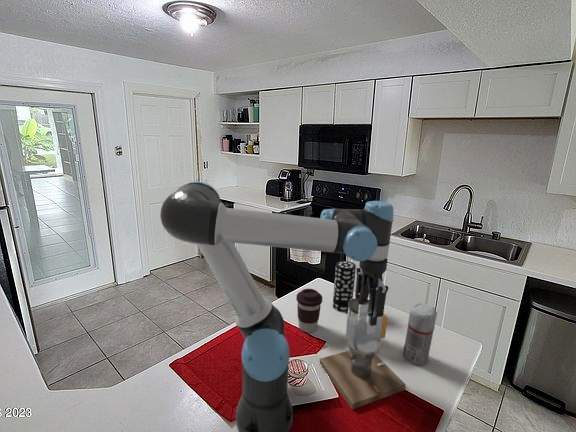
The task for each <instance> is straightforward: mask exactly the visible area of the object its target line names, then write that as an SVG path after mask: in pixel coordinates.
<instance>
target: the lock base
mask: <svg viewBox="0 0 576 432" xmlns="http://www.w3.org/2000/svg"><path fill="white" fill-rule="evenodd" d="M318 362H320V364H321V365H322V367H323V368H324V370H325V371H326V373H327V374H328V375H327V374H326V373H325V374H326V375H327V377H328V376H329V377H328V378H329V380H330V381H331V382H332V384H333V385H334V387H335V388H336V389H337V391H338V392H339V394H340V395H341V396H342V398H343V399H344V400H345V402H346V404H348V406H349V408H350V409H351V410H355V409H357V407H358V408H360V407H362V406H365V404H366V405H368V403H369V404H371V403H374V402H377V401H379V400H382V399H384V398H387V397H390V396H392V395H394V394H398V393H401V392H403V391H406V386H407V384H406V383H405V382H404V381H403V380H402V379H401V378H400V377H399V376H398V375H397V374H396V373H395V372H394V371H393V370H392V369H391V368H390V367H389V366H388V365H387V364H386V363H385V362H384V361H383V359H381V358H380V357H379V355H377V356H376V357H374V358H371V359H364V358H360V357H357V356H355V355H354V354H352V353H351V351H350V350H349V349H348V350H345V351H342V352H338V353H334V354H331V355H329V356H324V357H321V358H319V361H318ZM320 364H319V365H320ZM322 367H321V368H322ZM323 368H322V369H323ZM324 370H323V371H324ZM325 371H324V372H325Z"/></svg>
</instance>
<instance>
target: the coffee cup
mask: <svg viewBox="0 0 576 432" xmlns="http://www.w3.org/2000/svg"><path fill="white" fill-rule="evenodd" d="M295 298H296V299H295V300H296V302H297V307H296V308H297V320H298V325H297V326H298V328H299V329H300V330H301V331H302V332H305V333H312V332H314V331H316V330H317V328H318V322H319V319H320V313H321V305H322V303H323V295H322V294H321V293H320V292H319V291H318V290H316V289H314V288H304V289H302V290H301V291H299V292H297V293H296V297H295Z"/></svg>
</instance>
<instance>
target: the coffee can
mask: <svg viewBox="0 0 576 432" xmlns="http://www.w3.org/2000/svg"><path fill="white" fill-rule="evenodd" d="M367 300H368V301H369V298H368V299H367ZM365 304H366V303H365ZM367 304H368V311H367V313H368V312H370V306H369V302H367ZM358 307H359V303H358V299H356V298H353V299H351V300H350V301H349V303H348V312H347V317H350V316H354V315H358ZM344 337H345V340H346V341H347V342H348V343H349V341H348V339H347V338H346V335H345V336H344Z"/></svg>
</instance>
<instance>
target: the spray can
mask: <svg viewBox="0 0 576 432" xmlns="http://www.w3.org/2000/svg"><path fill="white" fill-rule="evenodd" d="M437 316H438V312H437V310H436V308H435V307H434V306H432V305H429V304H426V303H422V302H417V303H415V304H414V305H413V306H412V307H411V308H410V312H409V315H408V322H407V329H406V334H405V341H404V346H403V351H402V356H403V358H404V359H405V360H406V362H408V363H409V364H411V365H414V366H418V367H419V366H425V365H427V364H428V362H429V355H430V351H431V345H432V340H433V335H434V330H435V327H436V326H435V325H436V320H437Z"/></svg>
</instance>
